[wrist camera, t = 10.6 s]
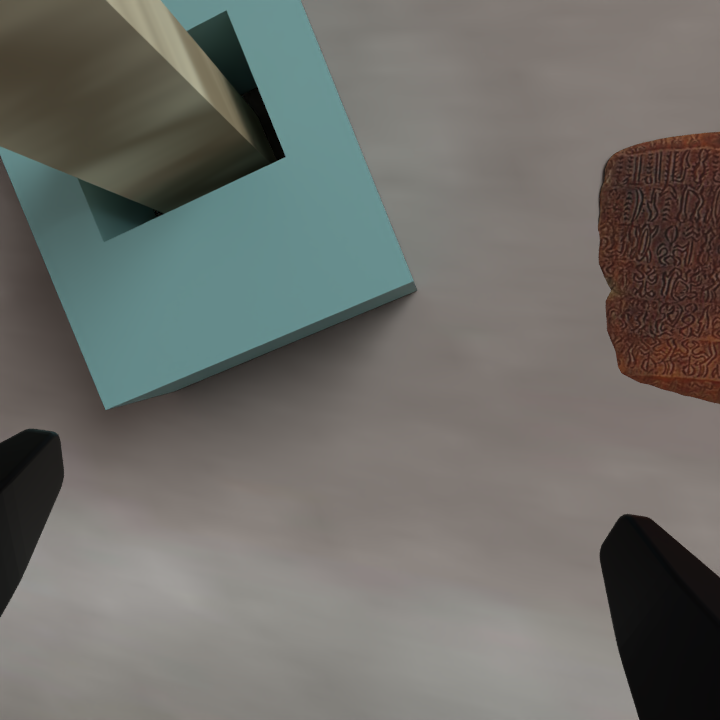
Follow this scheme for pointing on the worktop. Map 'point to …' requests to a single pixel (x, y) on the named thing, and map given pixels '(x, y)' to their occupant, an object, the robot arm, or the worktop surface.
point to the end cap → (222, 227)
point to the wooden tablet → (664, 262)
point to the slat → (122, 100)
